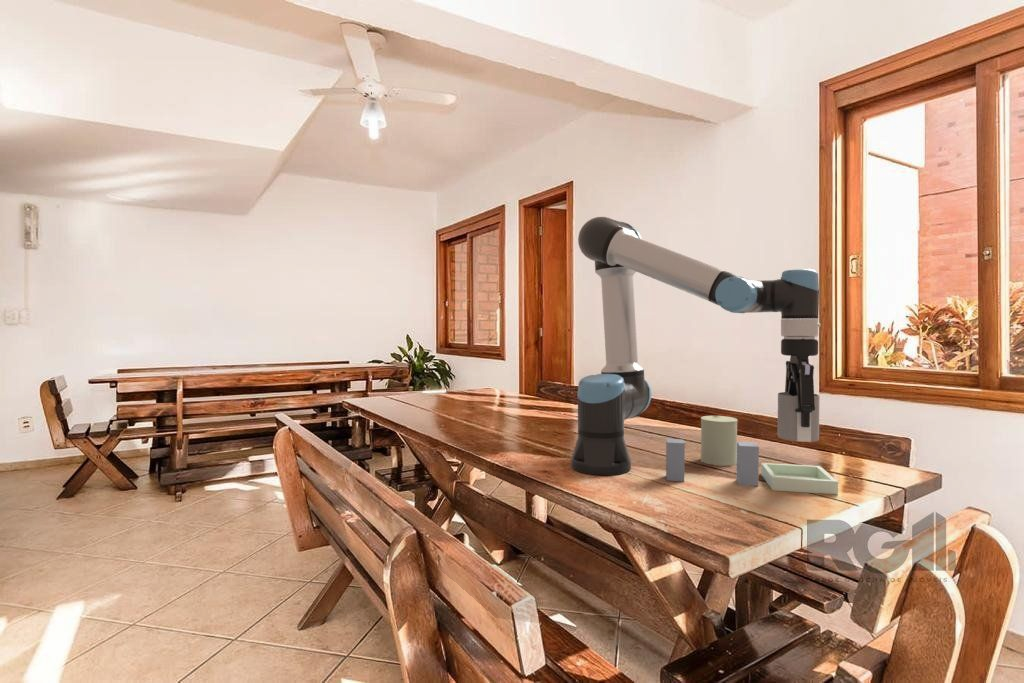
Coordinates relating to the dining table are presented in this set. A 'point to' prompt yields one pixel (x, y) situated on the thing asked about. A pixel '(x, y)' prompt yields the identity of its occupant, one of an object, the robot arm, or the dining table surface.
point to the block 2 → (747, 463)
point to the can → (719, 440)
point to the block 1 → (675, 459)
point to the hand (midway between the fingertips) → (798, 436)
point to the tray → (799, 478)
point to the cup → (794, 417)
